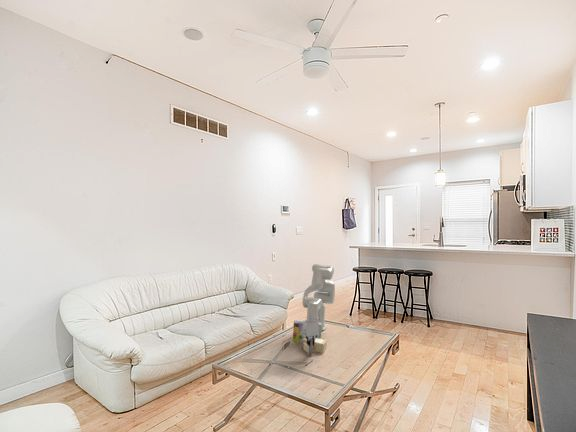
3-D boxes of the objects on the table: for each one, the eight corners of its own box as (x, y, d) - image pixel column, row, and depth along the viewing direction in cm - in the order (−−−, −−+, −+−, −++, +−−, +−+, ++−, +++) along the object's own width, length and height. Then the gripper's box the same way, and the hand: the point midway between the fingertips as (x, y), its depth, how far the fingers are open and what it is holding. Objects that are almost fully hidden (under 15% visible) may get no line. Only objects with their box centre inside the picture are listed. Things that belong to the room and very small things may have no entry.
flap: (300, 348, 229) (301, 333, 229) (303, 348, 231) (304, 332, 230) (309, 356, 219) (310, 339, 218) (312, 355, 220) (313, 339, 220)
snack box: (320, 341, 244) (321, 322, 243) (320, 344, 238) (321, 325, 238) (293, 338, 246) (294, 319, 245) (292, 341, 241) (293, 322, 240)
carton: (305, 343, 238) (306, 335, 238) (326, 348, 232) (326, 340, 232) (302, 348, 231) (302, 339, 231) (323, 353, 225) (323, 344, 224)
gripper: (319, 316, 226) (318, 341, 227) (299, 318, 220) (297, 344, 221) (325, 320, 219) (323, 346, 220) (304, 322, 213) (302, 349, 214)
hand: (310, 344), depth 220 cm, fingers closed on flap, 2 cm apart
